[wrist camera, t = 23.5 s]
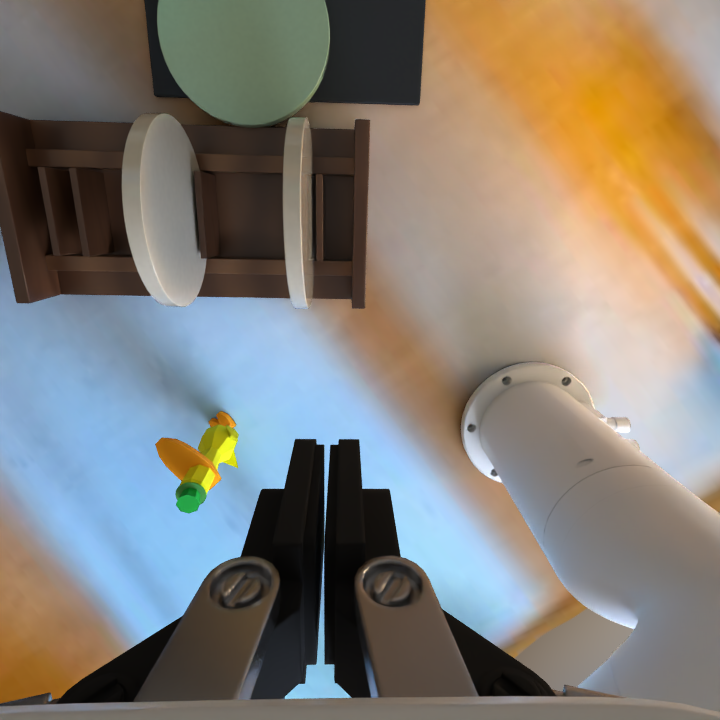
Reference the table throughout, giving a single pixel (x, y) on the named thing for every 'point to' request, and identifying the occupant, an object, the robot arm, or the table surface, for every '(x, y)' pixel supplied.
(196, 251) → the cream plate
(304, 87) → the green plate
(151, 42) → the mat
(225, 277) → the plate rack
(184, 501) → the toy figure
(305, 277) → the cream plate
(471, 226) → the table surface
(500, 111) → the table surface
